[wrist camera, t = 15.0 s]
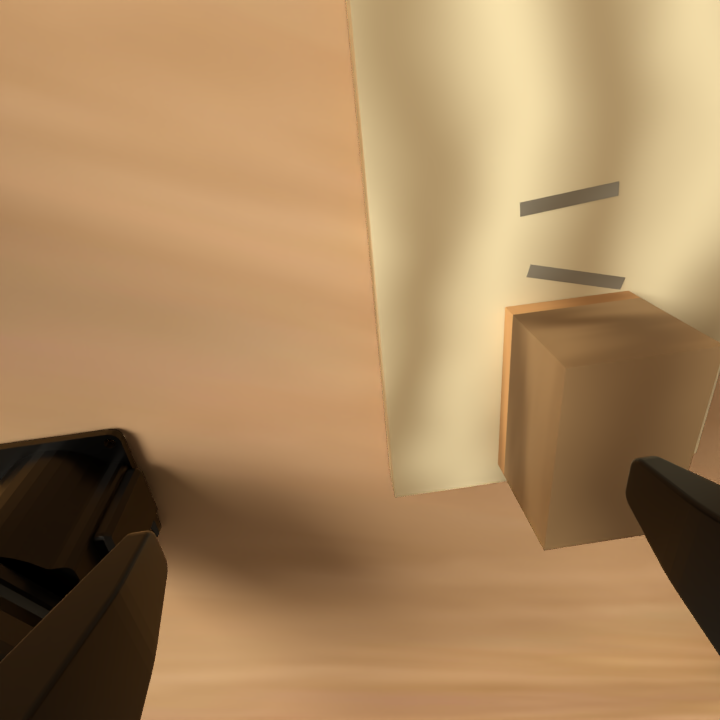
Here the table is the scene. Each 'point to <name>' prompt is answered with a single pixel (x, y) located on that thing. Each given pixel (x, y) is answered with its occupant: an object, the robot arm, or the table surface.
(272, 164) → the table surface
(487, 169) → the pine board
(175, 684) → the table surface
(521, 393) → the block
